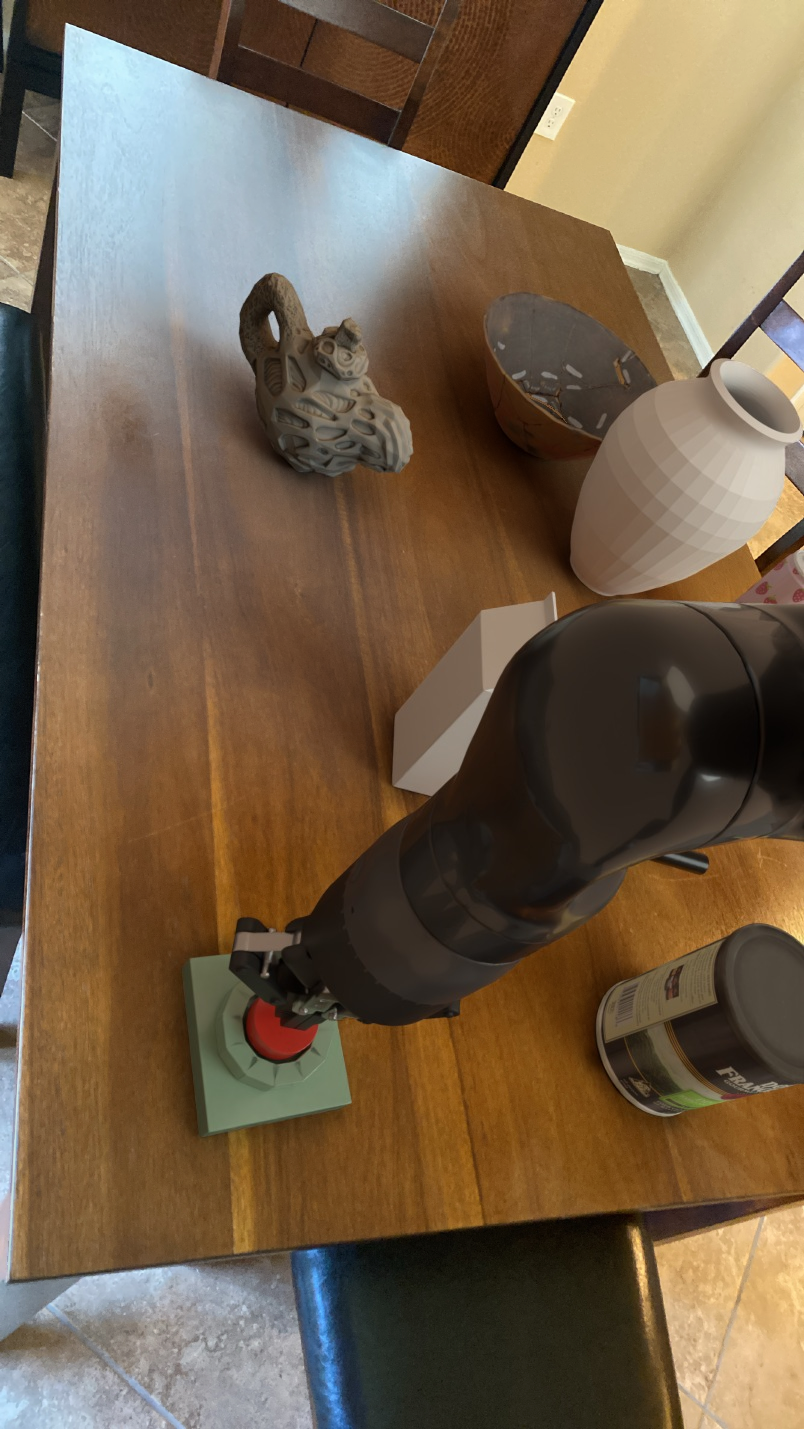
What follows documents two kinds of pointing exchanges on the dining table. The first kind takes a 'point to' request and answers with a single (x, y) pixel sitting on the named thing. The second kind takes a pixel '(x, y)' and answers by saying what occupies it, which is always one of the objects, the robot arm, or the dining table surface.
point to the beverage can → (779, 583)
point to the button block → (251, 1058)
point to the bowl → (557, 375)
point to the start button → (275, 1033)
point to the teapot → (317, 389)
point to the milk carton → (460, 695)
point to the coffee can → (708, 1024)
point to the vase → (682, 479)
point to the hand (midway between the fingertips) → (294, 1011)
